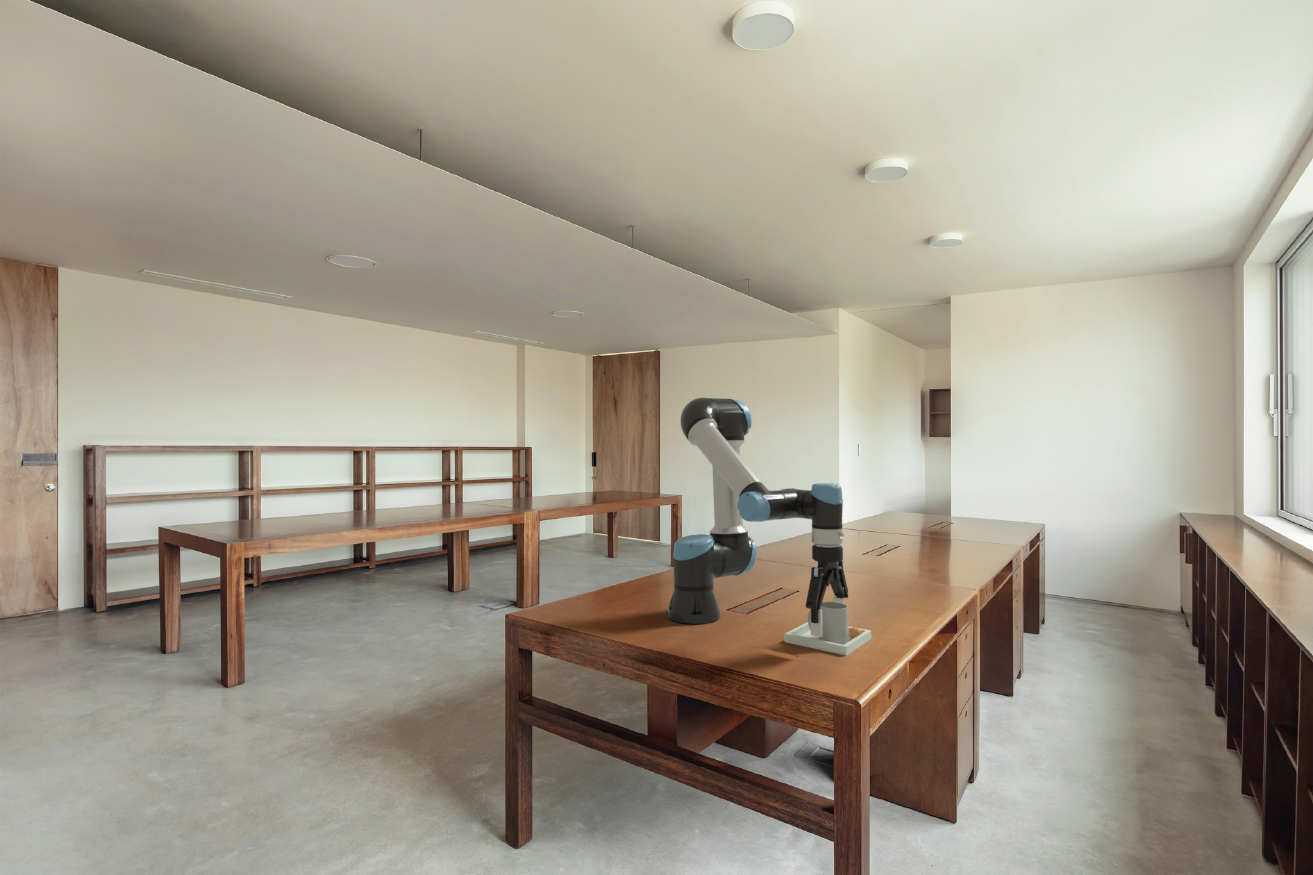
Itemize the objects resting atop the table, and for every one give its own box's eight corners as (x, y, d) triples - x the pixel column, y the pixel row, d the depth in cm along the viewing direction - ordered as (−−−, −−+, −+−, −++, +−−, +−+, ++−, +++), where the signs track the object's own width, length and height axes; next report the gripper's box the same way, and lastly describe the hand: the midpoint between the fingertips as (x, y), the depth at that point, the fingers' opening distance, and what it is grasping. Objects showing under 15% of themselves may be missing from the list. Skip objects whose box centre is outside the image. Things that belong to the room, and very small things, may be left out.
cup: (844, 647, 148) (844, 610, 149) (804, 641, 153) (803, 605, 153) (850, 639, 155) (850, 603, 155) (811, 633, 160) (811, 599, 160)
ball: (847, 639, 155) (847, 627, 155) (851, 636, 157) (851, 624, 157) (858, 641, 153) (858, 629, 153) (863, 638, 155) (863, 626, 155)
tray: (784, 645, 153) (784, 633, 153) (812, 630, 165) (812, 619, 165) (846, 659, 143) (846, 646, 143) (871, 642, 155) (871, 630, 155)
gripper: (820, 553, 143) (821, 644, 142) (860, 540, 162) (861, 620, 161) (790, 549, 147) (791, 638, 147) (833, 537, 167) (834, 615, 166)
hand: (828, 629), depth 154 cm, fingers open, 13 cm apart
